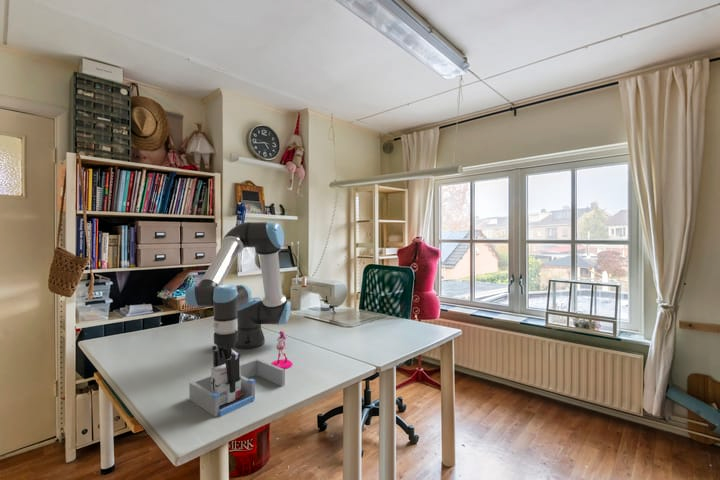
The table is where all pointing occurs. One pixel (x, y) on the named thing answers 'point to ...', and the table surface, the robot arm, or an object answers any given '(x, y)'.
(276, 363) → the figurine
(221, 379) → the ink box
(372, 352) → the table surface
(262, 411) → the table surface
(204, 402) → the divided organizer tray
